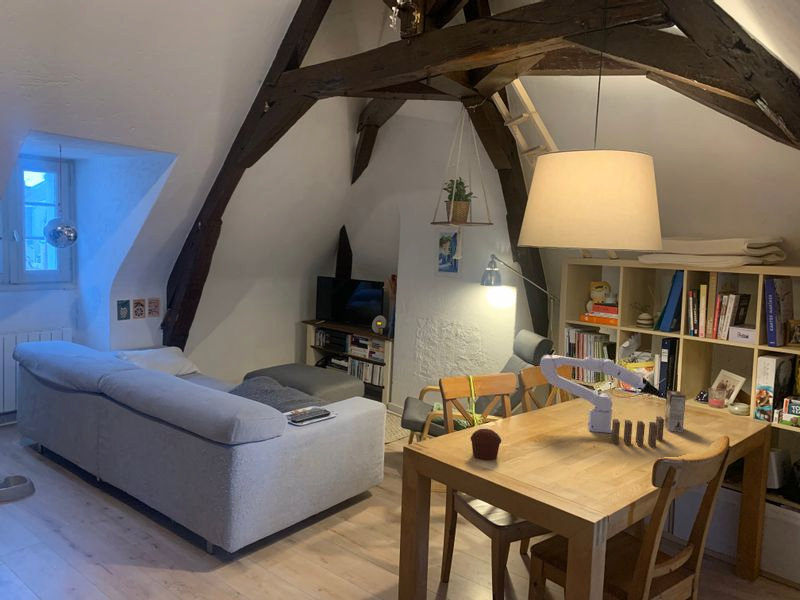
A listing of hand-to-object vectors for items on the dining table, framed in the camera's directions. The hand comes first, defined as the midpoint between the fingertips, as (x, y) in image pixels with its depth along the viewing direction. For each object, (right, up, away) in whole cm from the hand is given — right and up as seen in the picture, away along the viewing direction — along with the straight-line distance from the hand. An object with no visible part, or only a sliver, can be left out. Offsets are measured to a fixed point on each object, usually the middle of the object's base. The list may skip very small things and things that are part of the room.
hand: (657, 392), depth 267 cm
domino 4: (-7, -20, -11) cm, 24 cm away
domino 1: (-21, -19, -9) cm, 30 cm away
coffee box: (+12, -18, +14) cm, 26 cm away
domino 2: (-16, -19, -10) cm, 27 cm away
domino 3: (-12, -19, -11) cm, 25 cm away
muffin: (-77, -19, -32) cm, 85 cm away
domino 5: (-1, -19, -2) cm, 19 cm away
